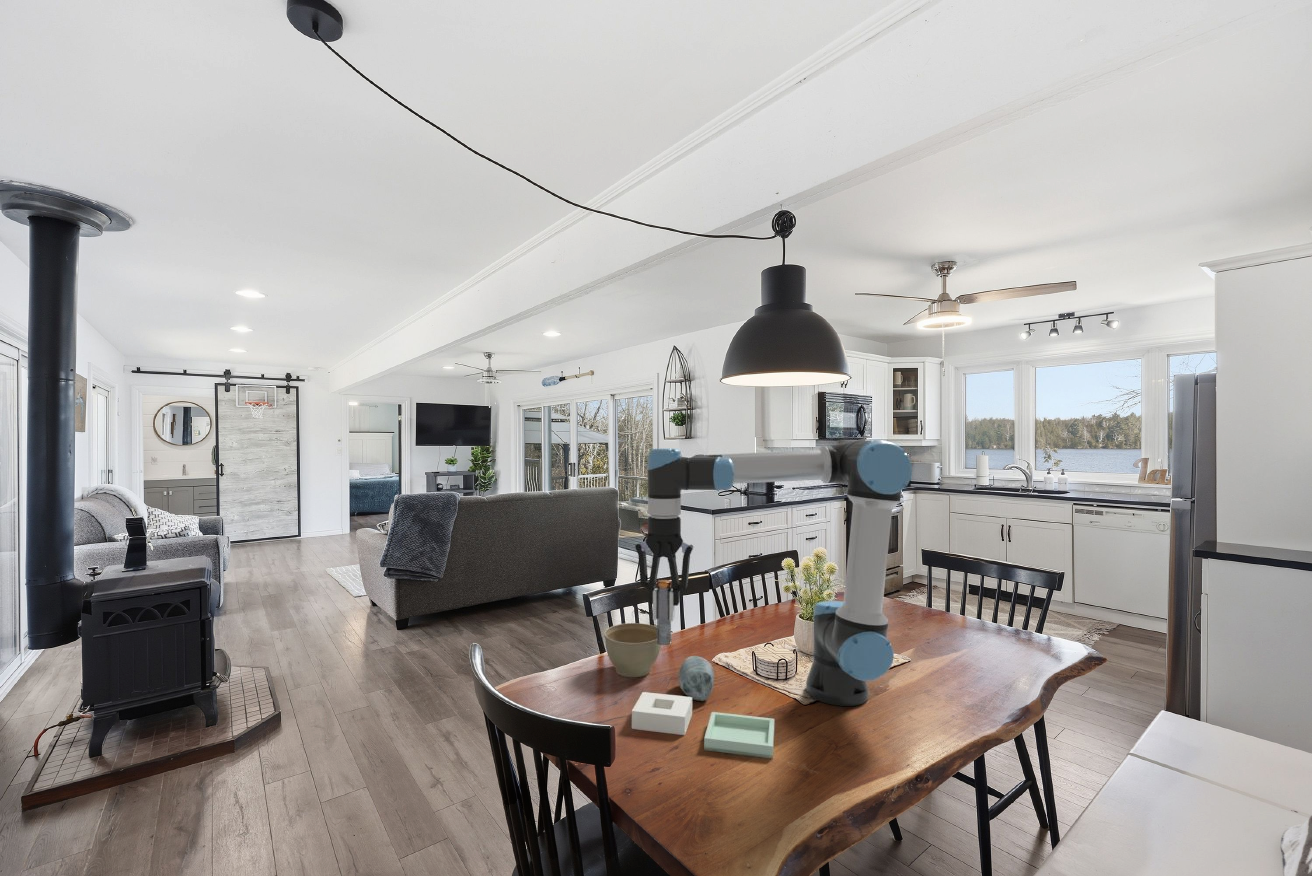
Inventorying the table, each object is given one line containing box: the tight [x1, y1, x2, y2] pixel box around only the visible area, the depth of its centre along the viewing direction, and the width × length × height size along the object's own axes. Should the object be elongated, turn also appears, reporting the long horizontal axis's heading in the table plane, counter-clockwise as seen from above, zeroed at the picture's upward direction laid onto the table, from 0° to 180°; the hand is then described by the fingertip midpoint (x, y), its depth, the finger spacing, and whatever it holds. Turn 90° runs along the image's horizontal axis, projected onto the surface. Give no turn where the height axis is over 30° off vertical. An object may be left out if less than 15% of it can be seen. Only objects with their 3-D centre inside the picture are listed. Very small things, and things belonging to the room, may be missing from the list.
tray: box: [703, 711, 775, 760], centre depth 127 cm, size 14×12×2 cm
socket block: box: [631, 691, 693, 736], centre depth 135 cm, size 12×10×4 cm
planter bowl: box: [603, 622, 662, 678], centre depth 164 cm, size 16×16×11 cm
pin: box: [656, 579, 672, 646], centre depth 135 cm, size 3×3×14 cm
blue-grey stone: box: [677, 655, 715, 702], centre depth 151 cm, size 14×10×10 cm
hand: (664, 618), depth 135 cm, fingers closed on pin, 3 cm apart
